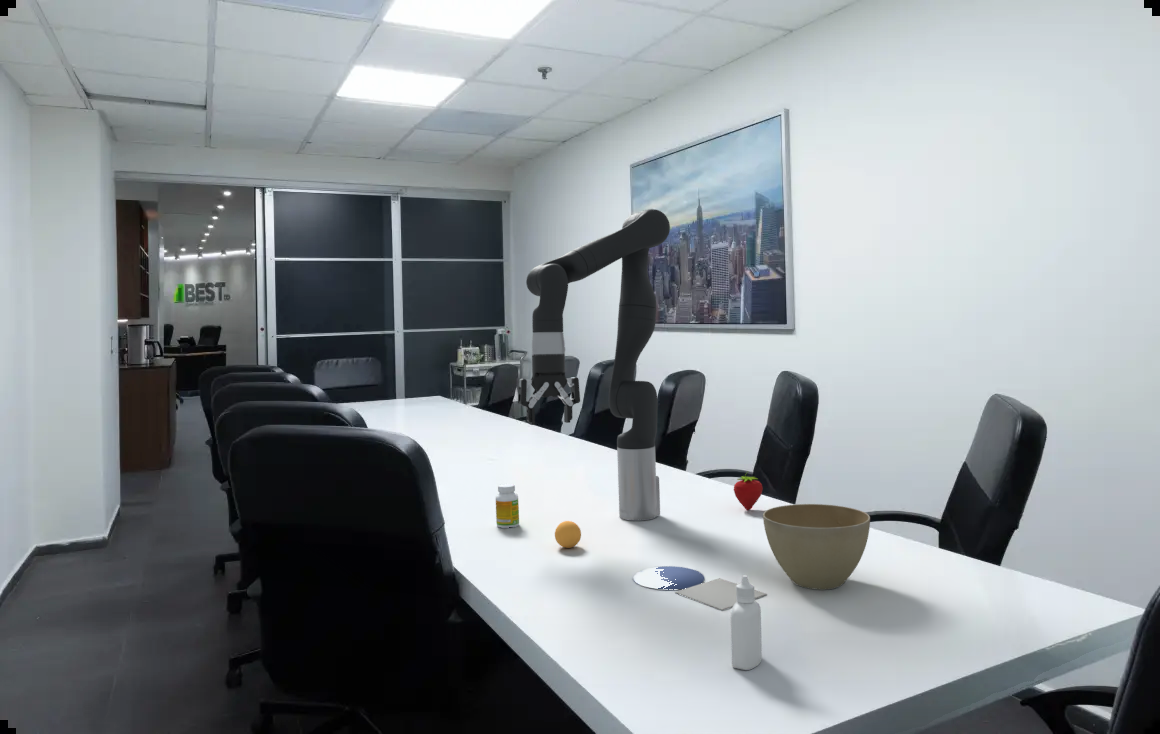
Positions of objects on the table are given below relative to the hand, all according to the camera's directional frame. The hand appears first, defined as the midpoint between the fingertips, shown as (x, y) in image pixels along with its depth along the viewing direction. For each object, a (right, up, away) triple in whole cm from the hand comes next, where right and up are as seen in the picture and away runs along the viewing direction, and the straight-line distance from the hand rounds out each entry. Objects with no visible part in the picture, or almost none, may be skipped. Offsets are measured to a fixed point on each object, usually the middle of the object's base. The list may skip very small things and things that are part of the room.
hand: (549, 423), depth 175 cm
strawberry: (+49, -23, +15) cm, 56 cm away
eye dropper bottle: (+30, -28, -71) cm, 81 cm away
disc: (+23, -26, -35) cm, 49 cm away
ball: (+4, -23, -12) cm, 26 cm away
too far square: (+31, -26, -44) cm, 60 cm away
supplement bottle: (-10, -25, +8) cm, 28 cm away
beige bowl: (+49, -26, -39) cm, 68 cm away
